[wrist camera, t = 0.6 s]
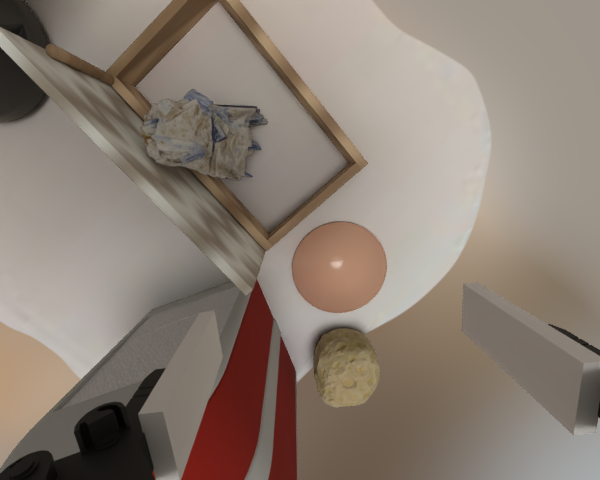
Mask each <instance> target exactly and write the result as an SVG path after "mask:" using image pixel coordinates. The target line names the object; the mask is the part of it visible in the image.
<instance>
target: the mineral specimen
mask: <svg viewBox="0 0 600 480" xmlns="http://www.w3.org/2000/svg"><path fill="white" fill-rule="evenodd" d="M259 113H260V109H257V107H255V106H234V105H215V104H213V101H211V100H210V99H208V98H207V97H205V96H204V95H202V94H201V93H199V92H197V91H196V90H194V89H192V90H190V91H189V92H188V93H187V94H186V96H185V97H184V99H183V100H180V101H178V102H174V101H172V100H170V99H165V100H162V101H161V102H160V103H159V104H153V105H152V107H151V110H150V112H149V114H147V115H144V122H143V123H142V124H141V125H142V126H141V127H140V130H141V135H142V137H144V143H145V145H146V147H147V152H148V156H150V157H151V158H153V159H154V160H156V162H157V163H160V164H162V165H167V166H173V167H175V166H182V167H186V168H189V169H192V170H196V171H198V172H200V173H201V174H204V175H210V176H212V177H214V178H215V177H219V178H222V179H224V178H228V179H233V180H240V178H241V177H244V176H245V175H246V176H249V177H253V176H252V175H250V174H249V173H246V172H245V170H246V156H248V155H252V154H253V152H254V150H261V148H260V146H259V145H258V143H257V142H255V141H252V134H251V130H250V129H249V127H251V126H256V125H260V124H267V123H268V121H267V119H265V118H264V117H263V115H261V114H259Z"/></svg>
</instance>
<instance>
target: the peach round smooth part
mask: <svg viewBox="0 0 600 480" xmlns="http://www.w3.org/2000/svg"><path fill="white" fill-rule="evenodd" d="M386 270H387V262H386V256H385V252H384V250H383V247H382V246H381V244H380V242H379V241H378V239H377V238H376V237H375V236H374V235H373V234H372V233H370V232H369V231H368V230H367V229H365V228H363V227H361V226H359V225H357V224H353V223H349V222H333V223H328V224H325V225H322V226H320V227H318V228H316V229H314V230H313V231H311V232H310V233H309V234H308V235H307V236H306V237H305V238H304V239H303V240H302V241H301V243H300V244H299V246H298V248H297V250H296V252H295V255H294V259H293V279H294V282H295V285H296V287H297V289H298V291H299V293H300V294H301V295H302V297H303V298H304V299H305V300H306V301H307V302H308V303H310V304H311V305H312V306H314V307H316V308H318V309H320V310H323V311H327V312H333V313H343V312H349V311H353V310H355V309H358V308H360V307H362V306H364V305H365V304H367V303H368V302H369V301H371V300H372V299H373V298H374V297H375V295H376V294H377V293H378V292H379V290H380V289H381V287H382V285H383V282H384V280H385V276H386Z"/></svg>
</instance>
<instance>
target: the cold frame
mask: <svg viewBox="0 0 600 480" xmlns="http://www.w3.org/2000/svg"><path fill="white" fill-rule="evenodd" d="M217 1H219V2H220V3H221V4H222V6H223V7H224V8H225V9H226V10H227V12H228V13H229V14H230V15H231V17H232V18H233V19H234V20H235V22H236V23H237V24H238V25H239V27H240V28H241V29H242V30H243V32H244V33H245V34H246V35H247V37H248V38H249V39H250V40H251V42H252V43H253V44H254V45H255V46H256V48H257V49H258V50H259V51H260V53H261V54H262V55H263V56H264V58H265V59H266V60H267V61H268V63H269V64H270V65H271V66H272V68H273V69H274V70H275V71H276V73H277V74H278V75H279V76H280V78H281V79H282V80H283V81H284V83H285V84H286V85H287V86H288V87H289V89H290V90H291V91H292V92H293V94H294V95H295V96H296V97H297V99H298V100H299V101H300V102H301V104H302V105H303V106H304V107H305V109H306V110H307V111H308V112H309V114H310V115H311V116H312V117H313V119H314V120H315V121H316V122H317V123H318V125H319V126H320V127H321V128H322V130H323V131H324V132H325V133H326V135H327V136H328V137H329V138H330V140H331V141H332V142H333V143H334V145H335V146H336V147H337V148H338V150H339V151H340V152H341V153H342V155H343V156H344V157H345V158H346V159H347V161H348V162H349V163H350V164H348V165H347V166H346V167H345V168H344V169H343V170H342V171H340V172H339V173H338V174H337V175H336V176H335V177H334V178H332V179H331V180H330V181H329V182H328V183H327V184H326V185H324V186H323V187H322V188H321V189H320V190H319V191H318V192H316V193H315V194H314V195H313V196H312V197H311V198H310V199H308V200H307V201H306V202H305V203H304V204H303V205H302V206H300V207H299V208H298V209H297V210H296V211H295V212H294V213H292V214H291V215H290V216H289V217H288V218H287V219H286V220H284V221H283V222H282V223H281V224H280V225H279V226H278V227H276V228H275V229H274V230H273V231H272V232H271V233H270V234H269V233H268V232H267V231H266V230H265V228H264V227H263V226H262V225H261V224H260V223H259V222H258V221H257V220H256V219H255V218H254V216H253V215H252V214H251V213H250V212H249V211H248V210H247V209H246V208H245V207H244V206H243V204H242V203H241V202H240V201H239V200H238V199H237V198H236V197H235V196H234V195H233V194H232V193H231V191H230V190H229V189H228V188H227V187H226V186H225V185H224V184H223V183H222V182H221V181H220V179H219V178H218V177H215V178H214V177H212V176H210V175H204V174H201V173H200V172H198V171H196V170H192V169H189V168H186V167H182V166H175V167H173V166H167V165H162V164H160V163H157V162H156V160H154V159H153V158H151V157H150V156H148V152H147V147H146V145H145V143H144V137H142V135H141V130H140V127H141V126H142V125H141V124H142V123H143V122H144V115H147V114H149V112H150V110H151V107H152V105H151V104H150V103H149V102H148V101H147V100H146V99H145V98H144V97H143V96H142V95H141V93H140V92H139V91H138V90H137V89H136V88H135V86H136V85H137V84H138V83H139V82H140V81H141V80H142V79H143V78H144V77H145V76H146V75H147V74H148V73H149V72H150V71H151V70H152V69H153V67H154V66H155V65H156V64H157V63H158V62H159V61H160V60H161V59H162V58H163V57H164V56H165V55H166V54H167V53H168V52H169V51H170V50H171V49H172V48H173V47H174V46H175V45H176V44H177V43H178V42H179V41H180V40H181V38H182V37H183V36H184V35H185V34H186V33H187V32H188V31H189V30H190V29H191V28H192V27H193V26H194V25H195V24H196V23H197V22H198V21H199V20H200V19H201V18H202V17H203V16H204V15H205V14H206V13H207V12H208V11H209V9H210V8H211V7H212V6H213V5H214V4H215V3H216V2H217ZM0 47H1V48H2V49H3V50H4V51H5V52H6V53H7V54H8V55H9V56H10V57H11V58H12V59H13V60H14V61H15V62H16V63H17V65H18V66H19V67H20V68H21V69H22V70H23V71H24V72H25V73H26V74H27V75H28V76H29V77H30V78H31V79H32V80H33V81H34V82H35V83H36V84H37V85H38V86H39V87H40V88H41V89H42V90H43V91H44V92H45V93H46V94H47V95H48V96H49V97H50V98H51V99H52V100H53V101H54V102H55V103H56V104H57V105H58V106H59V107H60V108H61V109H62V110H63V111H64V112H65V113H66V114H67V115H68V116H69V117H70V118H71V119H72V120H73V121H74V122H75V123H76V124H77V125H78V126H79V127H80V128H81V129H82V130H83V131H84V132H85V133H86V134H87V135H88V136H89V137H90V138H91V139H92V140H93V141H94V142H95V143H96V144H97V145H98V146H99V147H100V148H101V149H102V150H103V151H104V152H105V153H106V155H107V156H108V157H109V158H110V159H111V160H112V161H113V162H114V163H115V164H116V165H117V166H118V167H119V168H120V169H121V170H122V171H123V172H124V173H125V174H126V175H127V176H128V177H129V178H130V179H131V180H132V181H133V182H134V183H135V184H136V185H137V186H138V187H139V188H140V189H141V190H142V191H143V192H144V193H145V194H146V195H147V196H148V197H149V198H150V199H151V200H152V201H153V202H154V203H155V204H156V205H157V206H158V207H159V208H160V209H161V210H162V211H163V212H164V213H165V214H166V215H167V216H168V217H169V218H170V219H171V220H172V221H173V222H174V223H175V224H176V225H177V226H178V227H179V228H180V229H181V230H182V231H183V232H184V233H185V234H186V235H187V236H188V237H189V238H190V239H191V240H192V241H193V242H194V243H195V245H196V246H197V247H198V248H199V249H200V250H201V251H202V252H203V253H204V254H205V255H206V256H207V257H208V258H209V259H210V260H211V261H212V262H213V263H214V264H215V265H216V266H217V267H218V268H219V269H220V270H221V271H222V272H223V273H224V274H225V275H226V276H227V277H228V278H229V279H230V280H231V281H232V282H233V283H234V284H235V285H236V286H237V287H238V288H239V289H240V290H241V291H242V292H243V293H244V294H245V295H247V294H248V293H250V292H251V291H252V290H253V288H254V285H255V282H256V279H257V276H258V273H259V270H260V267H261V264H262V261H263V258H264V255H265V252H266V251H268V250H269V249H270V248H271V247H272V246H273V245H274V244H276V243H277V242H278V241H279V240H280V239H281V238H283V237H284V236H285V235H286V234H287V233H288V232H289V231H291V230H292V229H293V228H294V227H295V226H296V225H298V224H299V223H300V222H301V221H302V220H303V219H304V218H306V217H307V216H308V215H309V214H310V213H311V212H313V211H314V210H315V209H316V208H317V207H318V206H320V205H321V204H322V203H323V202H324V201H325V200H326V199H328V198H329V197H330V196H331V195H332V194H333V193H335V192H336V191H337V190H338V189H339V188H340V187H341V186H343V185H344V184H345V183H346V182H347V181H348V180H350V179H351V178H352V177H353V176H354V175H355V174H356V173H358V172H359V171H360V170H361V169H362V168H363V167H365V166H366V165H367V164H368V162H367V161H366V160H365V159H364V157H363V156H362V155H361V154H360V152H359V151H358V150H357V149H356V147H355V146H354V145H353V144H352V142H351V141H350V140H349V138H348V137H347V136H346V135H345V133H344V132H343V131H342V130H341V128H340V127H339V126H338V125H337V123H336V122H335V121H334V119H333V118H332V117H331V116H330V114H329V113H328V112H327V111H326V109H325V108H324V107H323V106H322V104H321V103H320V102H319V101H318V99H317V98H316V97H315V95H314V94H313V93H312V92H311V90H310V89H309V88H308V87H307V85H306V84H305V83H304V82H303V80H302V79H301V78H300V77H299V75H298V74H297V73H296V71H295V70H294V69H293V68H292V66H291V65H290V64H289V63H288V61H287V60H286V59H285V58H284V56H283V55H282V54H281V52H280V51H279V50H278V49H277V47H276V46H275V45H274V44H273V42H272V41H271V40H270V39H269V37H268V36H267V35H266V34H265V32H264V31H263V30H262V28H261V27H260V26H259V25H258V23H257V22H256V21H255V20H254V18H253V17H252V16H251V15H250V13H249V12H248V11H247V9H246V8H245V7H244V6H243V4H242V3H241V2H240V1H239V0H173V1H172V2H171V3H170V4H169V5H168V6H167V7H166V8H165V9H164V10H163V11H162V13H161V14H160V15H159V16H158V17H157V18H156V19H155V20H154V21H153V22H152V23H151V24H150V25H149V26H148V27H147V28H146V30H145V31H144V32H143V33H142V34H141V35H140V36H139V37H138V38H137V39H136V40H135V41H134V42H133V43H132V44H131V45H130V47H129V48H128V49H127V50H126V51H125V52H124V53H123V54H122V55H121V56H120V57H119V58H118V59H117V60H116V61H115V62H114V64H113V65H112V66H111V67H110V68H109V69H108V70H107V71H106V72H104V71H102V70H100V69H99V68H97V67H95V66H93V65H91V64H89V63H87V62H86V61H84V60H82V59H80V58H78V57H76V56H74V55H72V54H71V53H69V52H67V51H65V50H63V49H61V48H59V47H58V46H56V45H54V44H48V45H47V46H46V49H44V48H42V47H40V46H38V45H36V44H34V43H32V42H30V41H28V40H26V39H24V38H22V37H20V36H18V35H15V34H13V33H11V32H9V31H7V30H5V29H3V28H1V27H0Z"/></svg>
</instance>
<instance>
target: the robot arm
mask: <svg viewBox="0 0 600 480" xmlns="http://www.w3.org/2000/svg"><path fill="white" fill-rule="evenodd" d="M0 27H1V28H3V29H5V30H7V31H9V32H11V33H13V34H15V35H18V36H20V37H22V38H24V39H26V40H28V41H30V42H32V43H34V44H36V45H38V46H40V47H42V48H44V49H46V46H47V42H46V38H45V36H44V33H43V31H42V29H41V26H40V24H39V23H38V21H37V19H36V18H35V16H34V14H33V13H32V12H31V10H30V9H29V8H28V6H27V5H26V4H25V3H24V2H23V1H22V0H0ZM43 94H44V91H43V90H42V89H41V88H40V87H39V86H38V85H37V84H36V83H35V82H34V81H33V80H32V79H31V78H30V77H29V76H28V75H27V74H26V73H25V72H24V71H23V70H22V69H21V68H20V67H19V66H18V65H17V63H16V62H15V61H14V60H13V59H12V58H11V57H10V56H9V55H8V54H7V53H6V52H5V51H4V50H3V49H2V48H1V47H0V123H3V122H9V121H13V120H15V119H18V118H20V117H22V116H24V115H26V114H27V113H28V112H30V111H31V110H32V109H33V108H34V107H35V106H36V105H37V104H38V103H39V101H40V100H41V98H42V96H43ZM462 331H463V332H464V333H465V334H466V335H467V336H468V337H469V338H470V339H471V340H472V341H473V342H474V343H475V344H477V345H478V346H479V347H480V348H481V349H482V350H483V351H484V352H485V353H486V354H487V355H488V356H489V357H490V358H492V359H493V360H494V361H495V362H496V363H497V364H498V365H499V366H500V367H501V368H502V369H503V370H504V371H506V373H508V374H509V375H510V376H511V377H512V378H513V379H514V380H515V381H516V382H517V383H518V384H519V385H520V386H521V387H523V388H524V389H525V390H526V391H527V392H528V393H529V394H530V395H531V396H532V397H533V398H534V399H535V400H536V401H537V402H539V403H540V404H541V405H542V406H543V407H544V408H545V409H546V410H547V411H548V412H549V413H550V414H551V415H552V416H554V417H555V418H556V419H557V420H558V421H559V422H560V423H561V424H562V425H563V426H564V427H565V428H566V429H567V430H568V431H569V432H570V433H572V434H573V435H579V434H588V433H595V432H596V428H597V422H598V417H599V418H600V350H599V349H597V348H595V347H594V346H592V345H589V344H588V343H587V342H585V341H583V340H582V339H578V337H577V336H575V335H573V334H571V333H570V332H568V331H566V330H564V329H561V328H559V327H556V326H553V325H550V324H546V323H544V322H543V321H541V320H539V319H538V318H536V317H534V316H532V315H531V314H529V313H528V312H526V311H524V310H523V309H521V308H519V307H518V306H516V305H514V304H513V303H511V302H509V301H508V300H506V299H505V298H503V297H501V296H499V295H498V294H496V293H495V292H493V291H491V290H490V289H488V288H486V287H485V286H483V285H481V284H480V283H478V282H475V283H466V284H463V306H462ZM222 359H223V355H222V349H221V344H220V339H219V333H218V328H217V322H216V317H215V311H210V312H201V313H199V315H198V316H197V318H196V320H195V321H194V323H193V325H192V326H191V328H190V329H189V331H188V333H187V334H186V336H185V338H184V339H183V341H182V343H181V344H180V346H179V348H178V349H177V351H176V353H175V354H174V356H173V357H172V359H171V361H170V362H169V364H168V366H167V367H166V368H162V369H155V370H154V371H153V372H152V373H150V374H149V375H148V376H147V377H146V378H145V379H144V380H143V381H142V383H141V384H140V386H139V387H138V390H136V392H135V393H134V395H133V398H131V399H130V401H129V402H128V404H127V405H126V407H125V405H124V404H123V403H121V402H110V403H105V404H103V405H100V406H98V407H96V408H94V409H92V410H91V411H89V412H88V413H86V414H85V415H84V416H83V417H82V418H81V419H80V420H79V421H78V423H77V424H76V425H75V428H74V435H75V438H76V441H77V443H78V446H79V449H80V452H78V453H75V454H72V455H69V456H66V457H64V458H61V459H58V460H55V461H54V459H53V456H52V453H50V452H49V451H47V450H40V451H36V452H33V453H30V454H28V455H26V456H24V457H22V458H20V459H18V460H16V461H15V462H13V463H12V464H11V465H9V466H8V467H7V468H5V469H4V470H3V471H2V472H1V473H0V480H155V479H156V480H181V478H182V476H183V473H184V470H185V467H186V464H187V461H188V458H189V455H190V452H191V449H192V446H193V443H194V440H195V438H196V435H197V432H198V429H199V426H200V423H201V420H202V417H203V414H204V411H205V408H206V405H207V402H208V400H209V397H210V394H211V391H212V388H213V385H214V382H215V379H216V376H217V373H218V370H219V367H220V364H221V361H222ZM153 471H154V475H155V478H154V476H153V474H152V472H153Z"/></svg>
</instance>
